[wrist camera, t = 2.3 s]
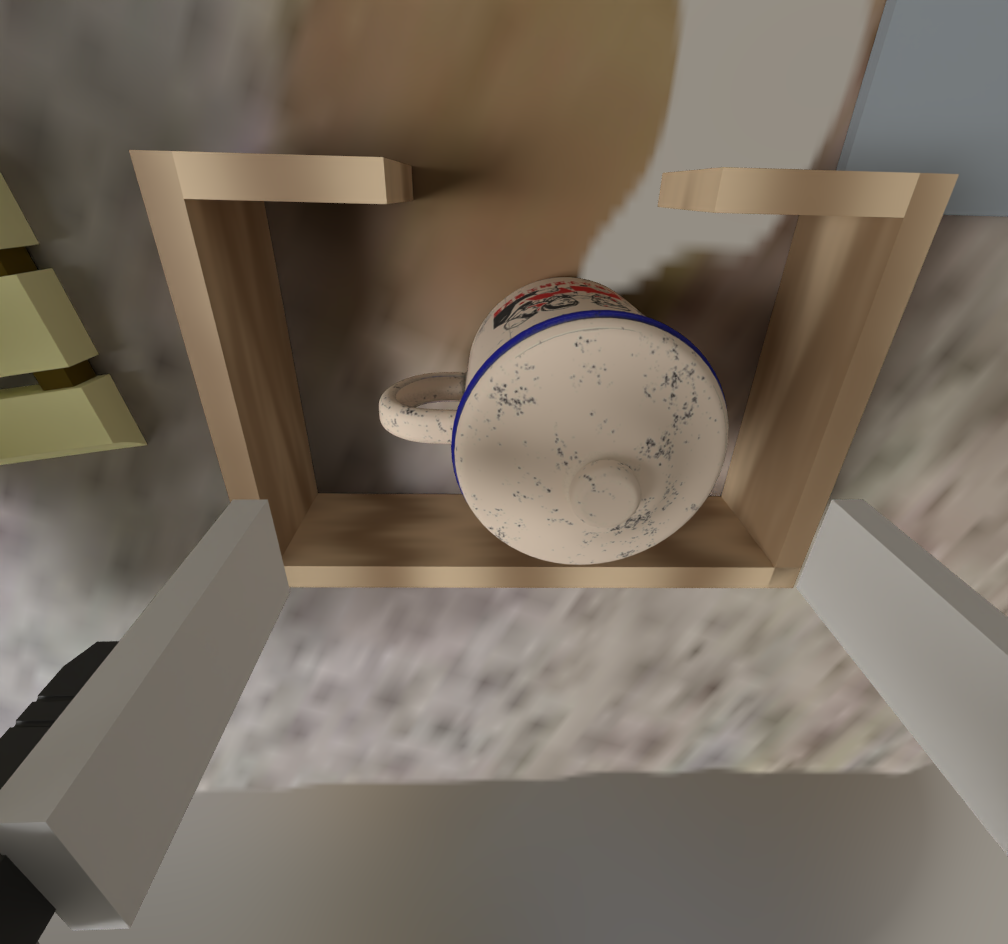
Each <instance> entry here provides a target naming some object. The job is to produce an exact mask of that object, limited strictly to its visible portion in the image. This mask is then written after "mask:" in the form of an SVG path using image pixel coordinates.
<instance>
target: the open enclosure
mask: <svg viewBox="0 0 1008 944" xmlns="http://www.w3.org/2000/svg"><path fill="white" fill-rule="evenodd" d="M129 153H130V156H131V159H132V163H133V166H134V170H135V173H136V177H137V180H138V184H139V187H140V191H141V194H142V198H143V201H144V205H145V208H146V212H147V215H148V219H149V222H150V226H151V229H152V232H153V236H154V239H155V243H156V246H157V250H158V253H159V257H160V260H161V264H162V267H163V271H164V274H165V278H166V281H167V285H168V288H169V292H170V295H171V299H172V302H173V305H174V309H175V312H176V316H177V319H178V323H179V326H180V330H181V333H182V337H183V340H184V344H185V347H186V351H187V354H188V358H189V361H190V365H191V368H192V371H193V375H194V378H195V382H196V385H197V389H198V392H199V396H200V399H201V403H202V406H203V410H204V413H205V417H206V420H207V424H208V427H209V431H210V434H211V438H212V441H213V444H214V448H215V451H216V455H217V458H218V462H219V465H220V469H221V472H222V476H223V479H224V483H225V486H226V490H227V493H228V497H229V500H230V503H231V501H232V500H268V503H269V507H270V511H271V515H272V519H273V523H274V527H275V531H276V535H277V540H278V544H279V548H280V552H281V556H282V560H283V564H284V568H285V572H286V576H287V580H288V585H289V587H464V588H793V587H794V584H795V582H796V579H797V577H798V574H799V572H800V569H801V567H802V564H803V562H804V559H805V557H806V554H807V552H808V549H809V547H810V544H811V542H812V539H813V537H814V534H815V532H816V529H817V527H818V524H819V522H820V520H821V517H822V515H823V512H824V510H825V507H826V505H827V502H828V500H829V497H830V495H831V492H832V490H833V487H834V485H835V482H836V480H837V477H838V475H839V472H840V470H841V467H842V465H843V462H844V460H845V457H846V455H847V452H848V450H849V447H850V445H851V442H852V440H853V437H854V435H855V432H856V430H857V427H858V425H859V422H860V420H861V417H862V415H863V412H864V410H865V407H866V405H867V402H868V400H869V397H870V395H871V393H872V390H873V388H874V385H875V383H876V380H877V378H878V375H879V373H880V370H881V368H882V365H883V363H884V360H885V358H886V355H887V353H888V350H889V348H890V345H891V343H892V340H893V338H894V335H895V333H896V330H897V328H898V325H899V323H900V320H901V318H902V315H903V313H904V310H905V308H906V305H907V303H908V300H909V298H910V295H911V293H912V290H913V288H914V285H915V283H916V280H917V278H918V275H919V273H920V270H921V268H922V266H923V263H924V261H925V258H926V256H927V253H928V251H929V248H930V246H931V243H932V241H933V238H934V236H935V233H936V231H937V228H938V226H939V223H940V221H941V218H942V216H943V213H944V211H945V208H946V206H947V203H948V201H949V198H950V196H951V193H952V191H953V188H954V186H955V183H956V181H957V178H958V176H959V174H938V173H904V172H870V171H835V170H801V169H800V170H799V169H767V168H732V167H731V168H730V167H722V168H710V169H699V170H689V171H679V172H668V173H663V175H662V181H661V189H660V194H659V201H658V207H664V208H673V209H684V210H692V211H702V212H713V213H742V214H743V213H744V214H780V215H799V218H798V221H797V225H796V228H795V232H794V236H793V239H792V243H791V246H790V250H789V254H788V257H787V261H786V264H785V268H784V272H783V275H782V279H781V283H780V286H779V290H778V293H777V297H776V301H775V304H774V308H773V311H772V315H771V319H770V322H769V326H768V329H767V333H766V337H765V340H764V344H763V347H762V351H761V355H760V358H759V362H758V366H757V369H756V373H755V376H754V380H753V384H752V387H751V391H750V394H749V398H748V402H747V405H746V409H745V412H744V416H743V420H742V423H741V427H740V430H739V434H738V438H737V441H736V445H735V448H734V452H733V456H732V459H731V463H730V467H729V470H728V474H727V477H726V481H725V485H724V488H723V492H722V495H721V496H708V497H707V499H706V500H705V502H704V503H703V504H702V506H701V507H700V508H699V509H698V511H697V512H696V513H695V514H694V515H693V516H692V517H691V518H690V519H689V520H688V521H687V522H686V523H685V524H684V525H683V526H682V527H681V528H679V529H678V530H677V531H676V532H675V533H673V534H672V535H670V536H669V537H668V538H666V539H665V540H663V541H661V542H660V543H658V544H656V545H655V546H653V547H651V548H649V549H647V550H645V551H642V552H640V553H637V554H635V555H632V556H629V557H626V558H623V559H619V560H615V561H611V562H605V563H599V564H588V565H573V564H561V563H554V562H549V561H545V560H541V559H538V558H535V557H532V556H529V555H527V554H525V553H522V552H520V551H518V550H516V549H514V548H512V547H511V546H509V545H507V544H506V543H504V542H503V541H501V540H500V539H499V538H497V537H496V536H495V535H494V534H492V533H491V532H490V531H489V530H488V529H487V528H486V527H485V526H484V525H483V524H482V523H481V522H480V520H479V519H478V518H477V517H476V516H475V514H474V513H473V511H472V510H471V508H470V507H469V505H468V503H467V502H466V500H465V498H464V496H463V494H343V493H318V491H317V486H316V480H315V475H314V469H313V464H312V459H311V453H310V448H309V442H308V437H307V431H306V426H305V421H304V415H303V410H302V404H301V399H300V393H299V388H298V383H297V377H296V372H295V366H294V361H293V356H292V350H291V345H290V339H289V334H288V328H287V323H286V318H285V312H284V307H283V301H282V296H281V290H280V285H279V280H278V274H277V269H276V263H275V258H274V253H273V247H272V242H271V236H270V231H269V225H268V220H267V215H266V209H265V204H264V201H285V202H323V203H361V204H392V203H399V202H406V201H413V184H412V167H411V165H407V164H404V163H401V162H397V161H394V160H391V159H387V158H384V157H357V156H323V155H289V154H254V153H220V152H186V151H152V150H129Z"/></svg>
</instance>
